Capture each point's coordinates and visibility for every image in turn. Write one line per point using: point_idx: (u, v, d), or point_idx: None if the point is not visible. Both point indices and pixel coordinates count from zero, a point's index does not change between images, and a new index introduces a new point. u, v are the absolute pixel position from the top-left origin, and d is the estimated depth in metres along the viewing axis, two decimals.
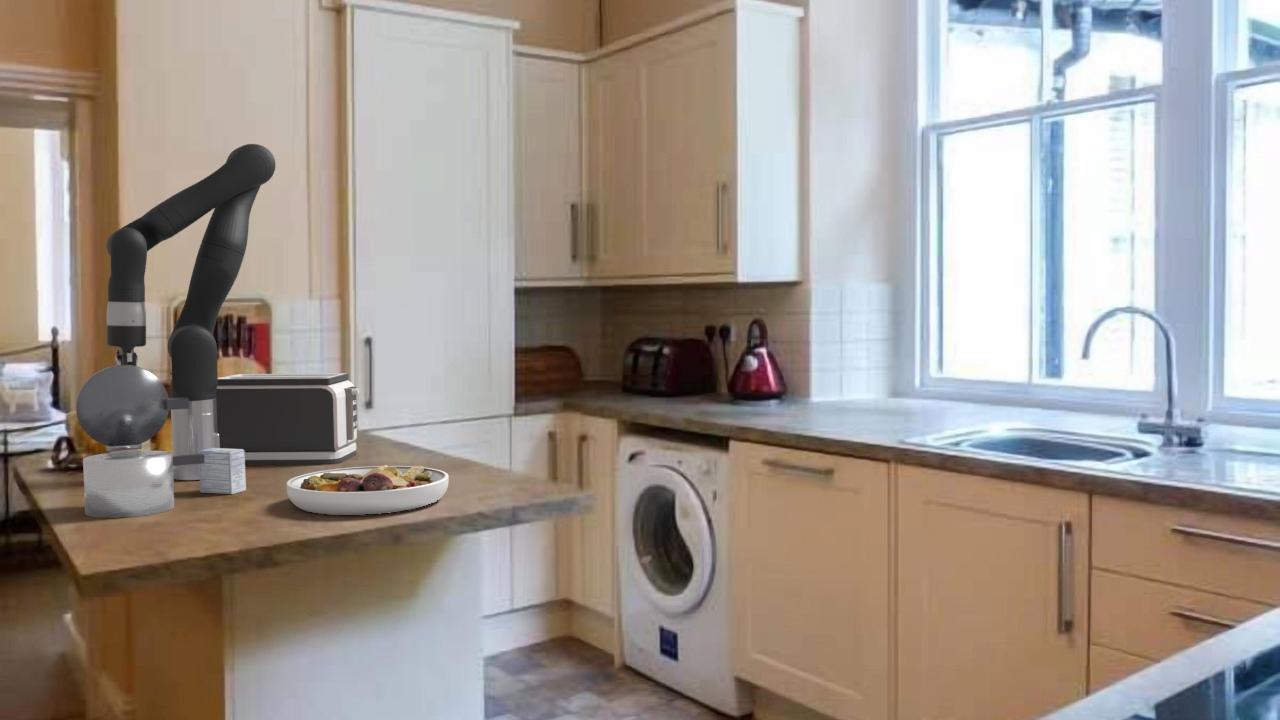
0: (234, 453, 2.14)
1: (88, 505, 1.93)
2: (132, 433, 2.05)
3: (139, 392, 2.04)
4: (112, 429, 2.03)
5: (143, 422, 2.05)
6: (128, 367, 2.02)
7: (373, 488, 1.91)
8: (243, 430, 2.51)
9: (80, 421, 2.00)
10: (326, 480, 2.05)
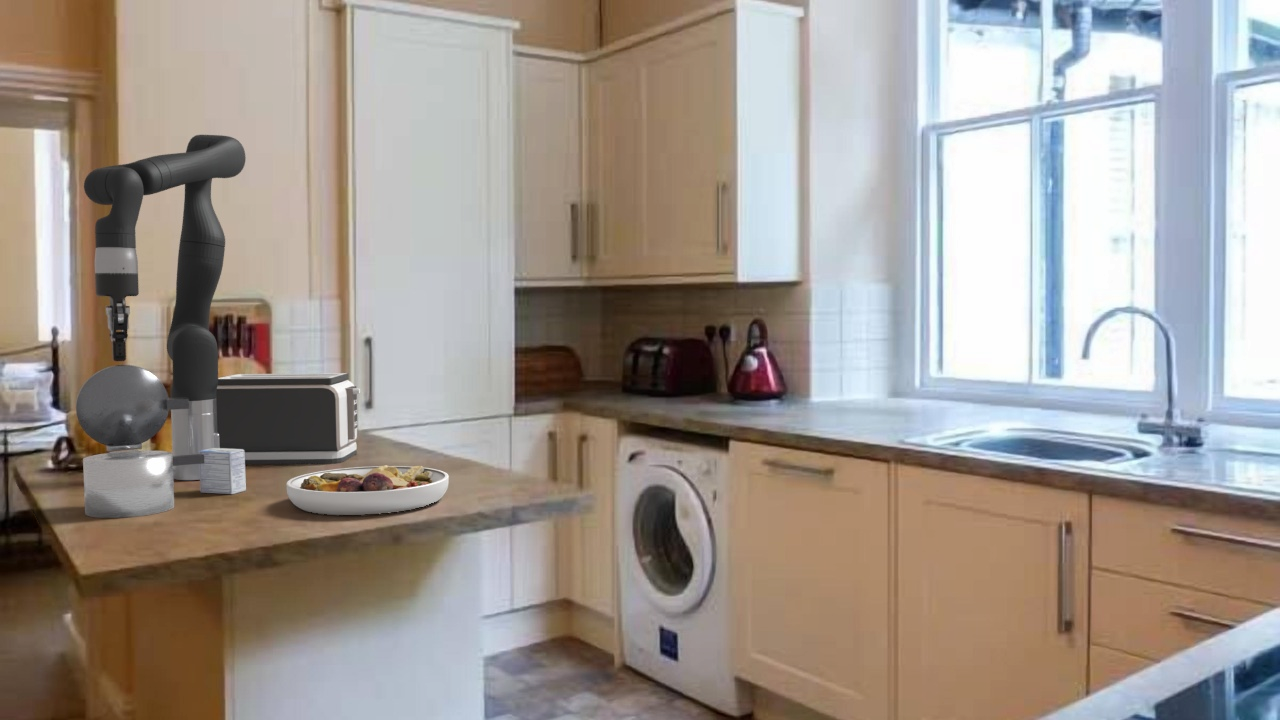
0: (234, 453, 2.14)
1: (88, 505, 1.93)
2: (132, 433, 2.05)
3: (139, 392, 2.04)
4: (112, 429, 2.03)
5: (143, 422, 2.05)
6: (128, 367, 2.02)
7: (373, 488, 1.91)
8: (245, 430, 2.51)
9: (80, 421, 2.00)
10: (326, 480, 2.05)
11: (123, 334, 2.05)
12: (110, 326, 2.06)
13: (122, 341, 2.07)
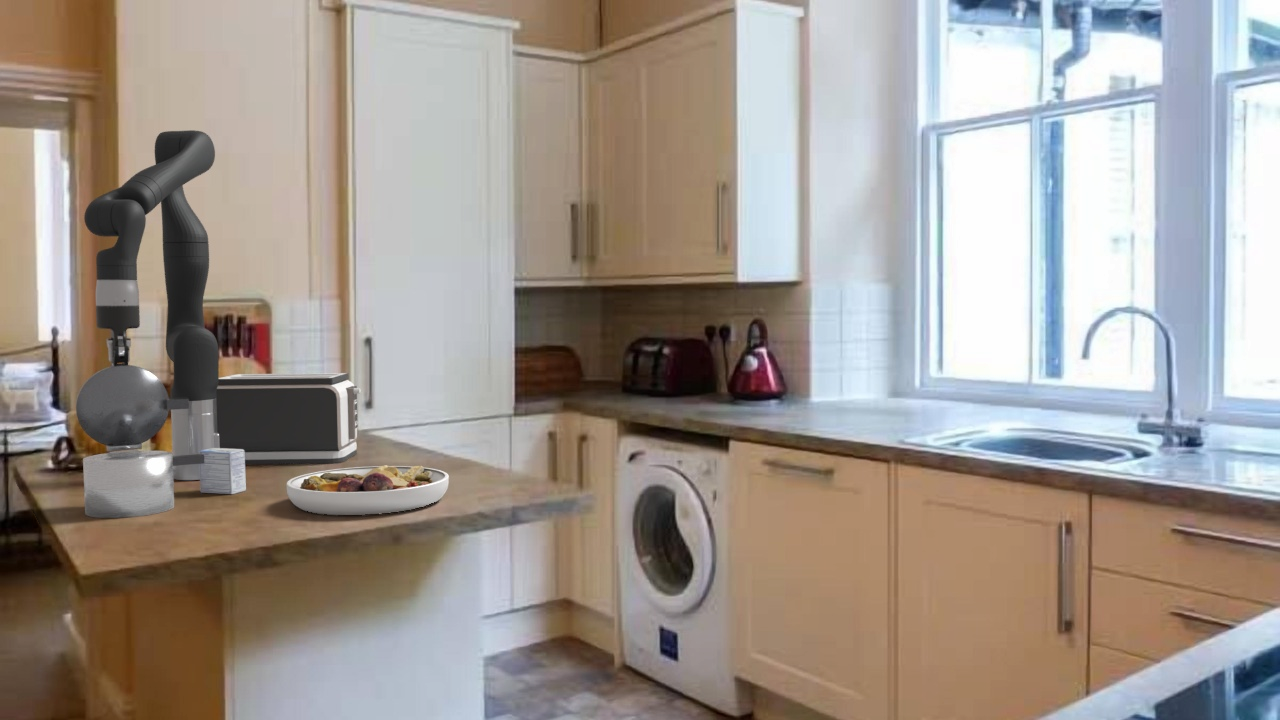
0: (234, 453, 2.14)
1: (88, 505, 1.93)
2: (132, 433, 2.05)
3: (139, 392, 2.04)
4: (112, 429, 2.03)
5: (143, 422, 2.05)
6: (128, 367, 2.02)
7: (374, 488, 1.91)
8: (246, 430, 2.51)
9: (80, 421, 2.00)
10: (326, 480, 2.05)
11: None
12: (111, 359, 2.04)
13: None
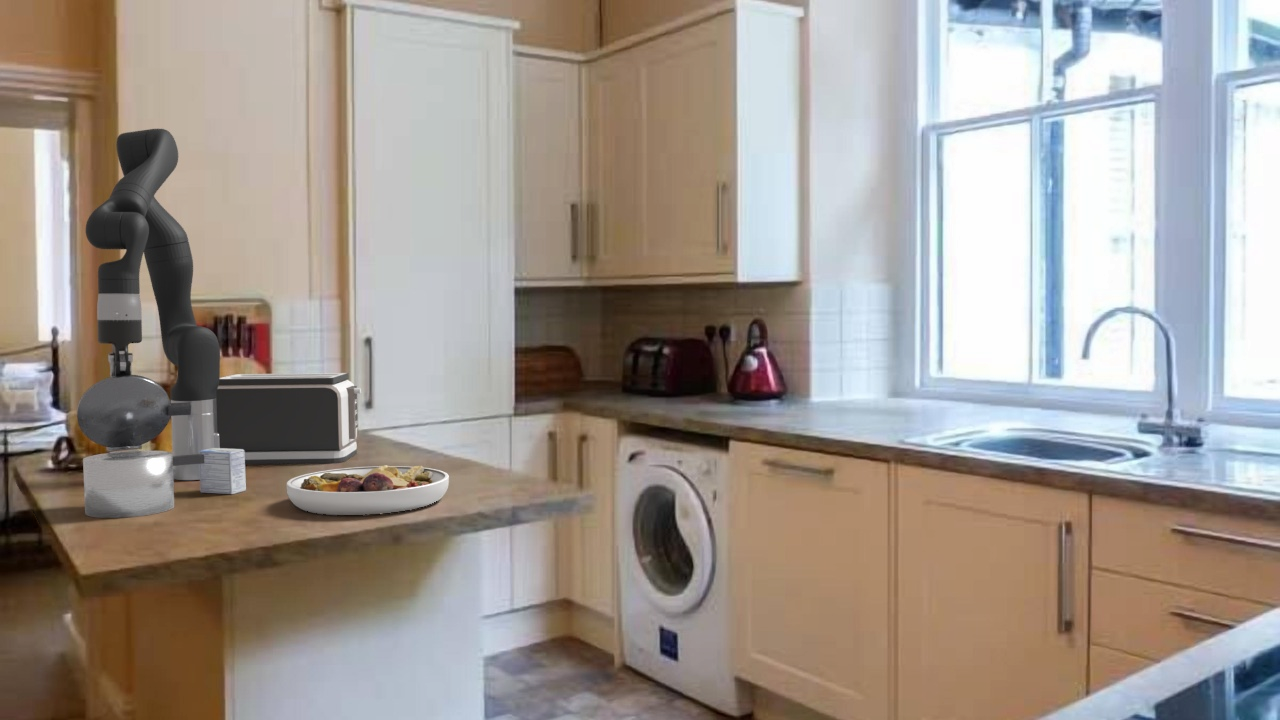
0: (234, 453, 2.14)
1: (88, 505, 1.93)
2: (132, 436, 2.04)
3: (141, 400, 2.01)
4: (113, 433, 2.02)
5: (144, 426, 2.04)
6: (131, 379, 1.98)
7: (374, 488, 1.91)
8: (247, 430, 2.52)
9: (81, 426, 1.98)
10: (326, 480, 2.05)
11: None
12: (112, 374, 2.00)
13: None
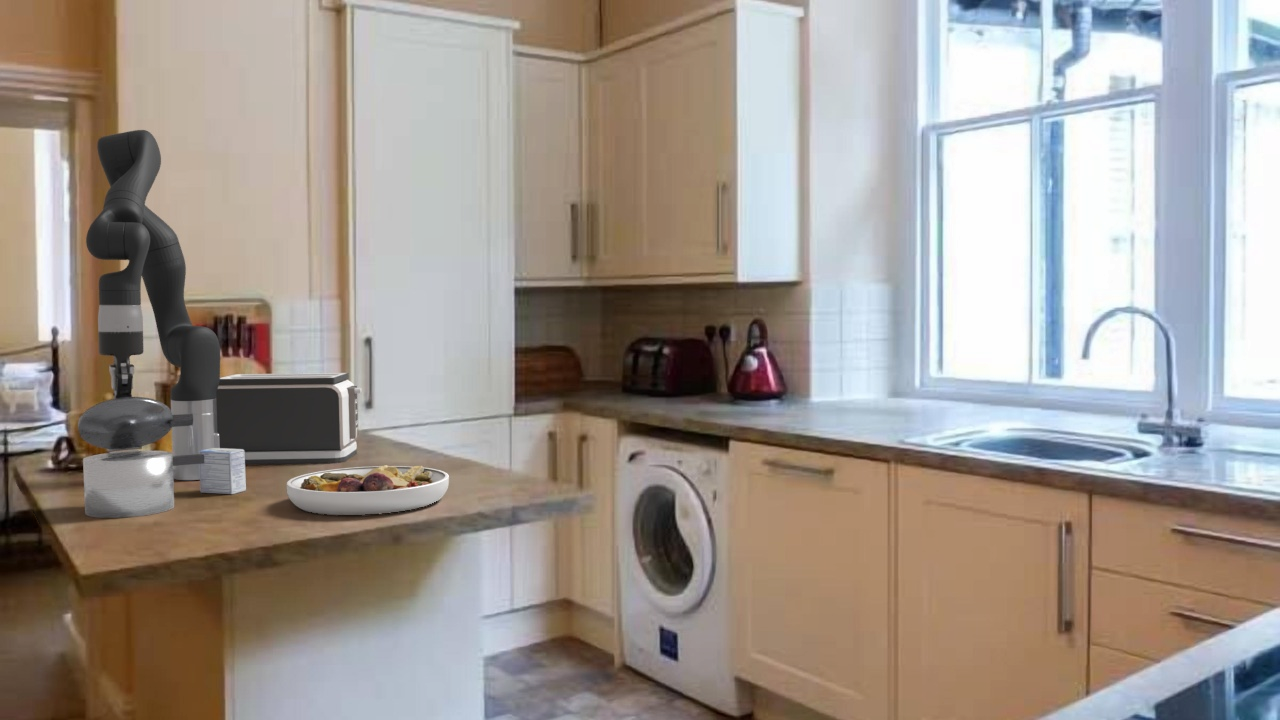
0: (234, 453, 2.14)
1: (88, 505, 1.93)
2: (133, 441, 2.04)
3: (143, 417, 1.99)
4: (113, 439, 2.01)
5: (145, 434, 2.03)
6: (134, 402, 1.94)
7: (374, 488, 1.91)
8: (248, 430, 2.52)
9: (82, 436, 1.97)
10: (326, 480, 2.05)
11: (127, 395, 1.98)
12: (114, 386, 1.98)
13: None
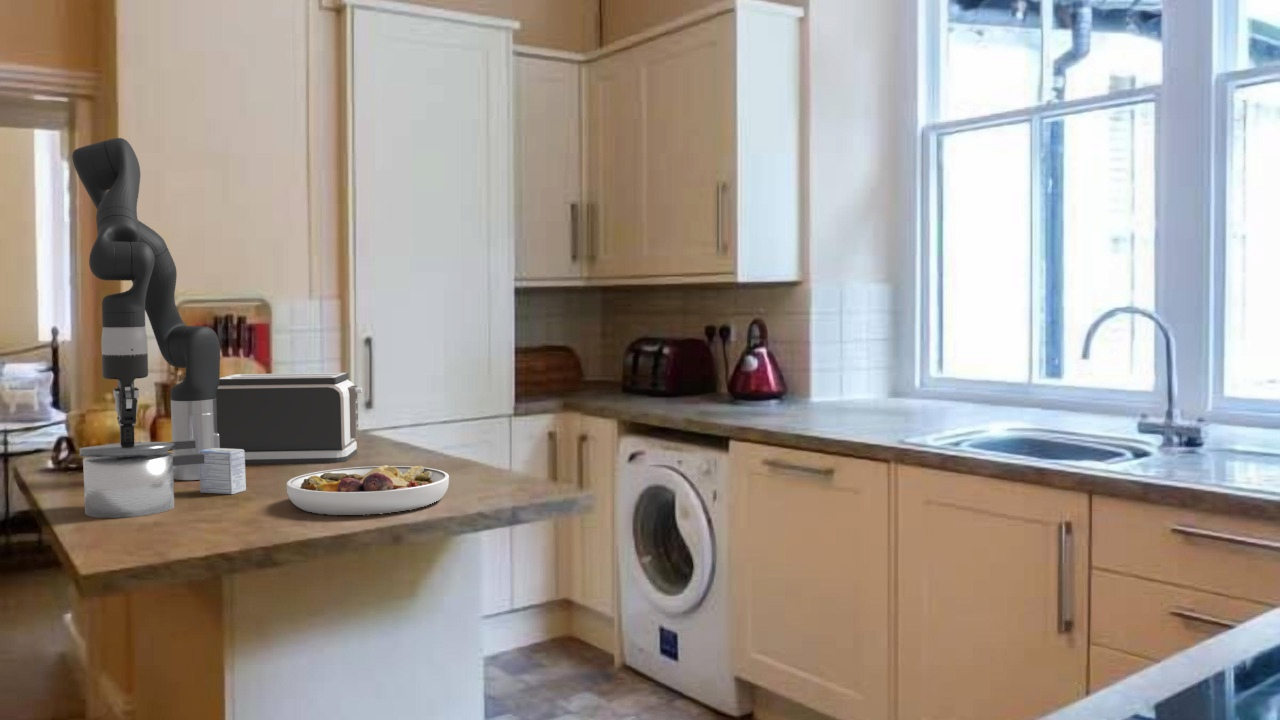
0: (234, 453, 2.14)
1: (88, 505, 1.93)
2: None
3: None
4: None
5: None
6: None
7: (374, 488, 1.91)
8: (249, 430, 2.52)
9: None
10: (326, 480, 2.05)
11: (131, 419, 1.92)
12: (118, 411, 1.93)
13: (130, 426, 1.94)
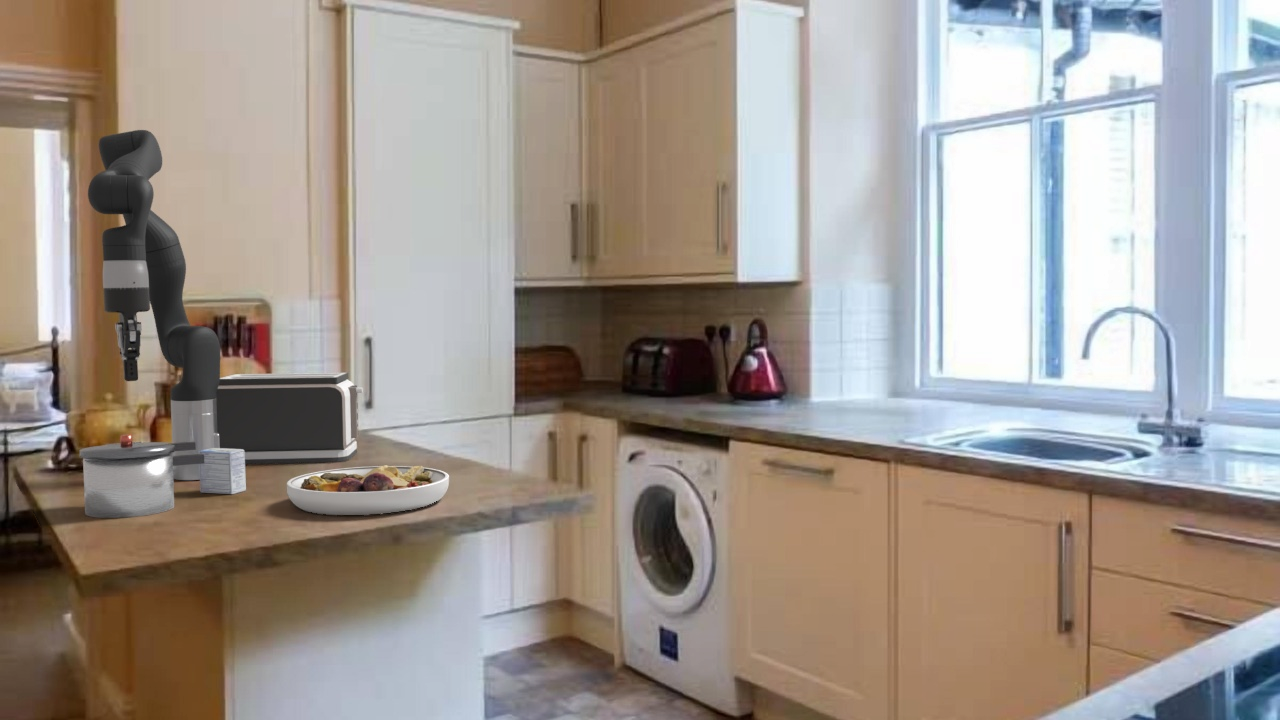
0: (234, 453, 2.14)
1: (88, 505, 1.93)
2: None
3: None
4: None
5: None
6: None
7: (374, 488, 1.91)
8: (250, 429, 2.52)
9: None
10: (326, 480, 2.05)
11: (135, 352, 1.93)
12: (121, 344, 1.93)
13: (134, 360, 1.94)
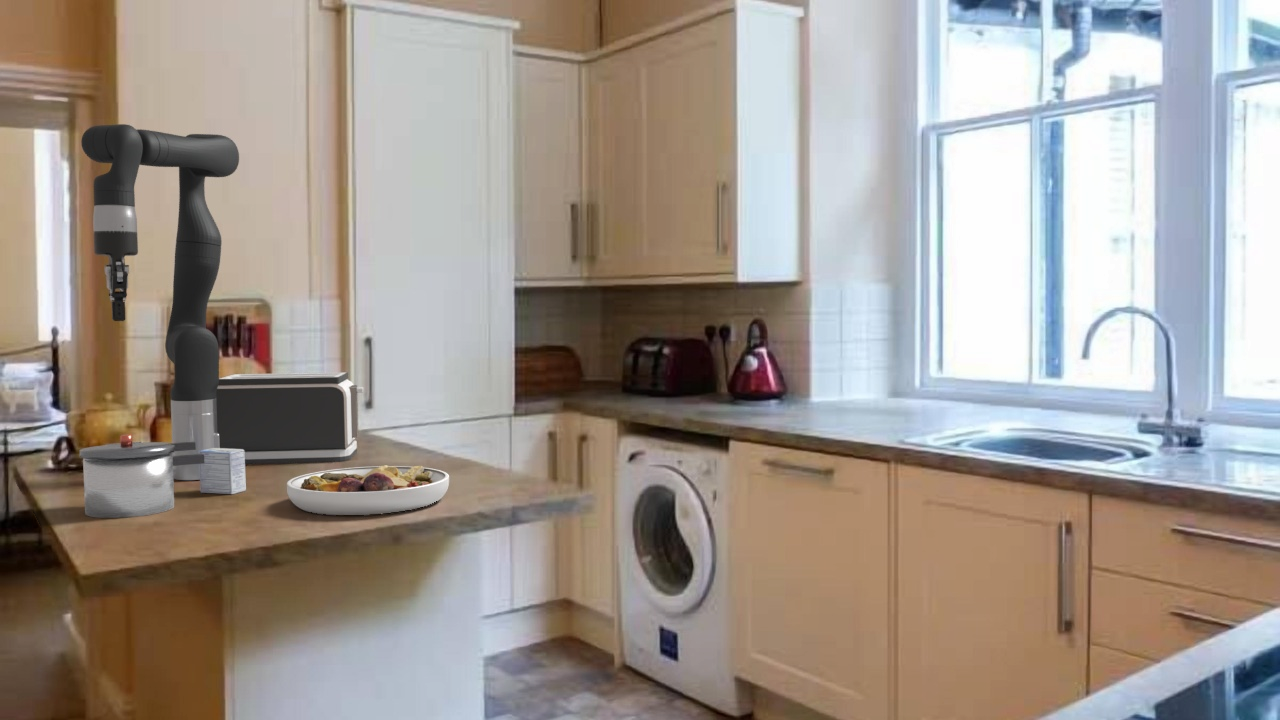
0: (234, 453, 2.14)
1: (88, 505, 1.93)
2: None
3: None
4: None
5: None
6: None
7: (374, 488, 1.91)
8: (252, 429, 2.52)
9: None
10: (326, 480, 2.05)
11: (122, 293, 2.03)
12: (109, 285, 2.03)
13: (121, 300, 2.04)
